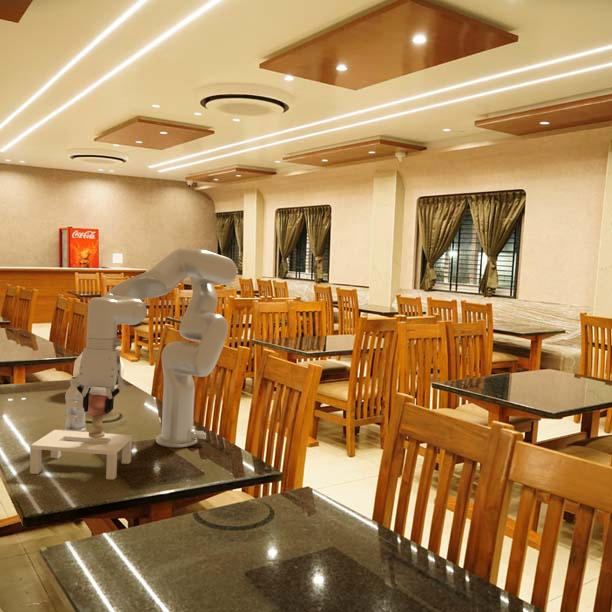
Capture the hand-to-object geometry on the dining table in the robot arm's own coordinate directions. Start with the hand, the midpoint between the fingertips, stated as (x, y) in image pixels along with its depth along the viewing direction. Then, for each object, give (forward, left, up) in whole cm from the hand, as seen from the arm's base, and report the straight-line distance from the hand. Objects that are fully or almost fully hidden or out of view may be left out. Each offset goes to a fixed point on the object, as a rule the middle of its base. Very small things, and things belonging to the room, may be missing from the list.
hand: (97, 410), depth 162 cm
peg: (0, 0, -7) cm, 7 cm away
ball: (+30, -80, -16) cm, 87 cm away
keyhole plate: (+4, 0, -16) cm, 16 cm away
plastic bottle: (+14, -19, -16) cm, 29 cm away
